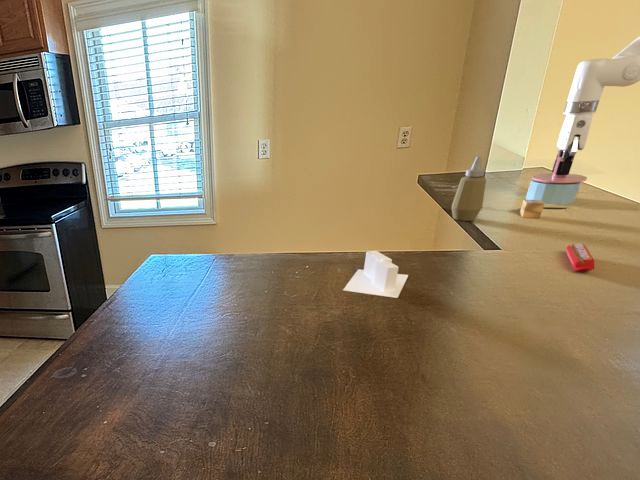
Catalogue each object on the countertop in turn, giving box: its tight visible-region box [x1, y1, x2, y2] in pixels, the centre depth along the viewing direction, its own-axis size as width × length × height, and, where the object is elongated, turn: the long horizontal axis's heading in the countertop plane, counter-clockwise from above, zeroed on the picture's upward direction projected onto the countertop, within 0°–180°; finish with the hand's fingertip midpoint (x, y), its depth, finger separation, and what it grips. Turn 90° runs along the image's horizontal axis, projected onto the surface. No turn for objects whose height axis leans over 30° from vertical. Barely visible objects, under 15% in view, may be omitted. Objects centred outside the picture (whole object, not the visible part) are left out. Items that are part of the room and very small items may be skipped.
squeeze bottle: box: [451, 155, 487, 222], centre depth 143 cm, size 8×8×18 cm
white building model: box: [342, 250, 409, 299], centre depth 106 cm, size 15×11×6 cm
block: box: [519, 199, 545, 219], centre depth 144 cm, size 4×4×4 cm
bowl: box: [525, 179, 582, 210], centre depth 153 cm, size 13×13×8 cm
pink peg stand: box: [531, 156, 588, 184], centre depth 149 cm, size 14×14×7 cm
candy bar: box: [565, 243, 595, 273], centre depth 109 cm, size 16×4×3 cm, turn 150°
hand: (560, 173), depth 150 cm, fingers closed on pink peg stand, 3 cm apart
